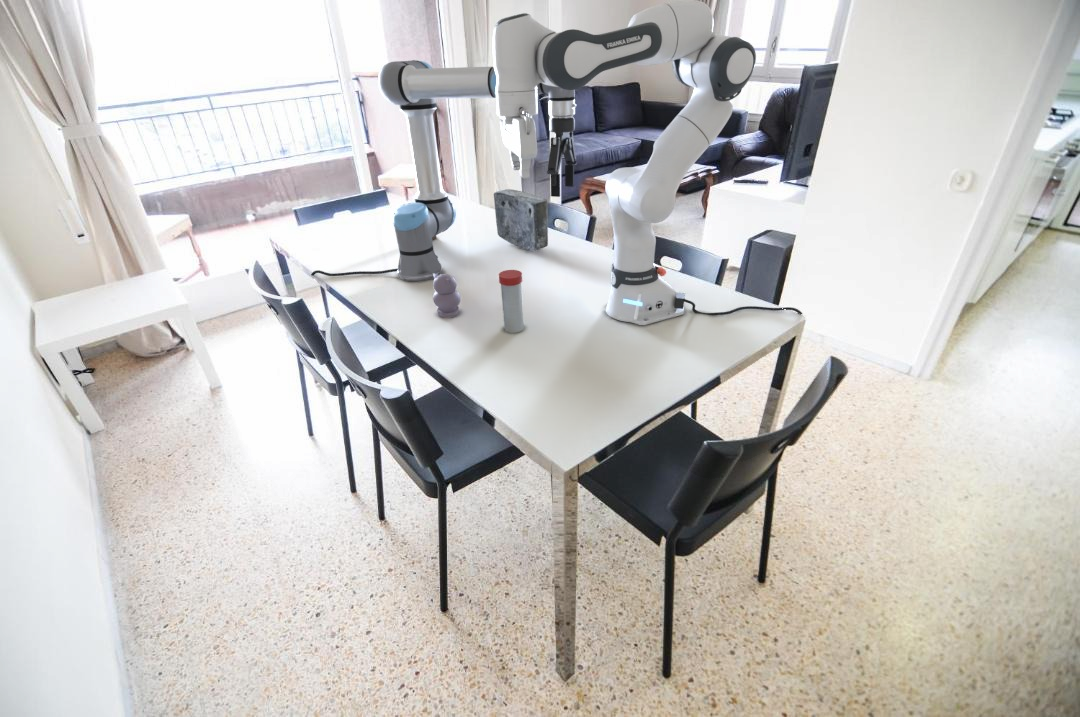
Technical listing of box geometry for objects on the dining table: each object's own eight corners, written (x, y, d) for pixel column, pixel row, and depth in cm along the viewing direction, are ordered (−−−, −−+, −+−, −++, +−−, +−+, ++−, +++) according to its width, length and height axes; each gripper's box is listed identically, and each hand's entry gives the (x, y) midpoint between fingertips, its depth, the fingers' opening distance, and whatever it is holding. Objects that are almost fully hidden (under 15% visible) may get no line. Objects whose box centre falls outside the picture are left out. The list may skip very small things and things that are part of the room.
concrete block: (553, 252, 189) (552, 199, 179) (534, 258, 185) (532, 204, 175) (514, 236, 208) (511, 187, 198) (496, 241, 204) (492, 191, 193)
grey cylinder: (500, 330, 138) (496, 277, 130) (511, 322, 142) (507, 270, 133) (516, 334, 135) (513, 280, 127) (527, 326, 139) (524, 273, 131)
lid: (494, 283, 130) (494, 276, 129) (507, 275, 135) (507, 268, 134) (514, 287, 128) (513, 280, 126) (526, 279, 132) (526, 272, 131)
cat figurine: (468, 312, 148) (463, 274, 142) (447, 321, 143) (441, 282, 137) (450, 304, 153) (445, 267, 147) (429, 313, 148) (423, 275, 142)
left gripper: (560, 121, 134) (561, 201, 145) (586, 112, 154) (585, 183, 165) (534, 121, 137) (537, 200, 148) (563, 112, 156) (564, 181, 167)
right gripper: (543, 109, 98) (545, 181, 106) (521, 101, 115) (524, 164, 123) (512, 111, 97) (516, 184, 104) (494, 103, 114) (499, 166, 121)
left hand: (562, 191), depth 156 cm, fingers open, 13 cm apart
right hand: (520, 173), depth 114 cm, fingers open, 8 cm apart
